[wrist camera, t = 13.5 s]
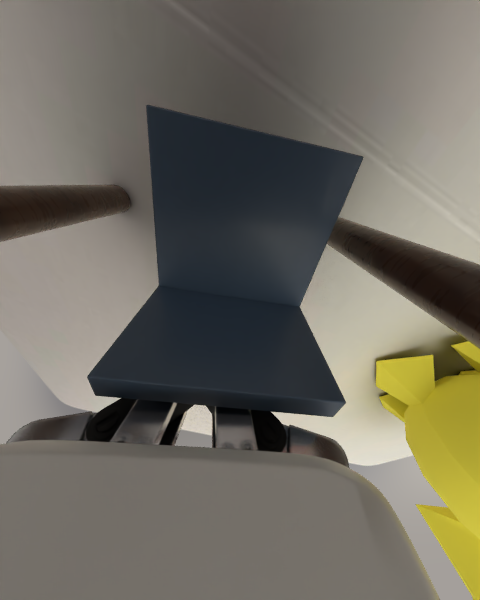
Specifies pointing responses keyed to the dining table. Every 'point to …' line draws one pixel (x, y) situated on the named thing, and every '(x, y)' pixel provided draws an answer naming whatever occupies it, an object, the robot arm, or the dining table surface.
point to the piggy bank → (443, 447)
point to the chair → (232, 271)
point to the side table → (344, 238)
